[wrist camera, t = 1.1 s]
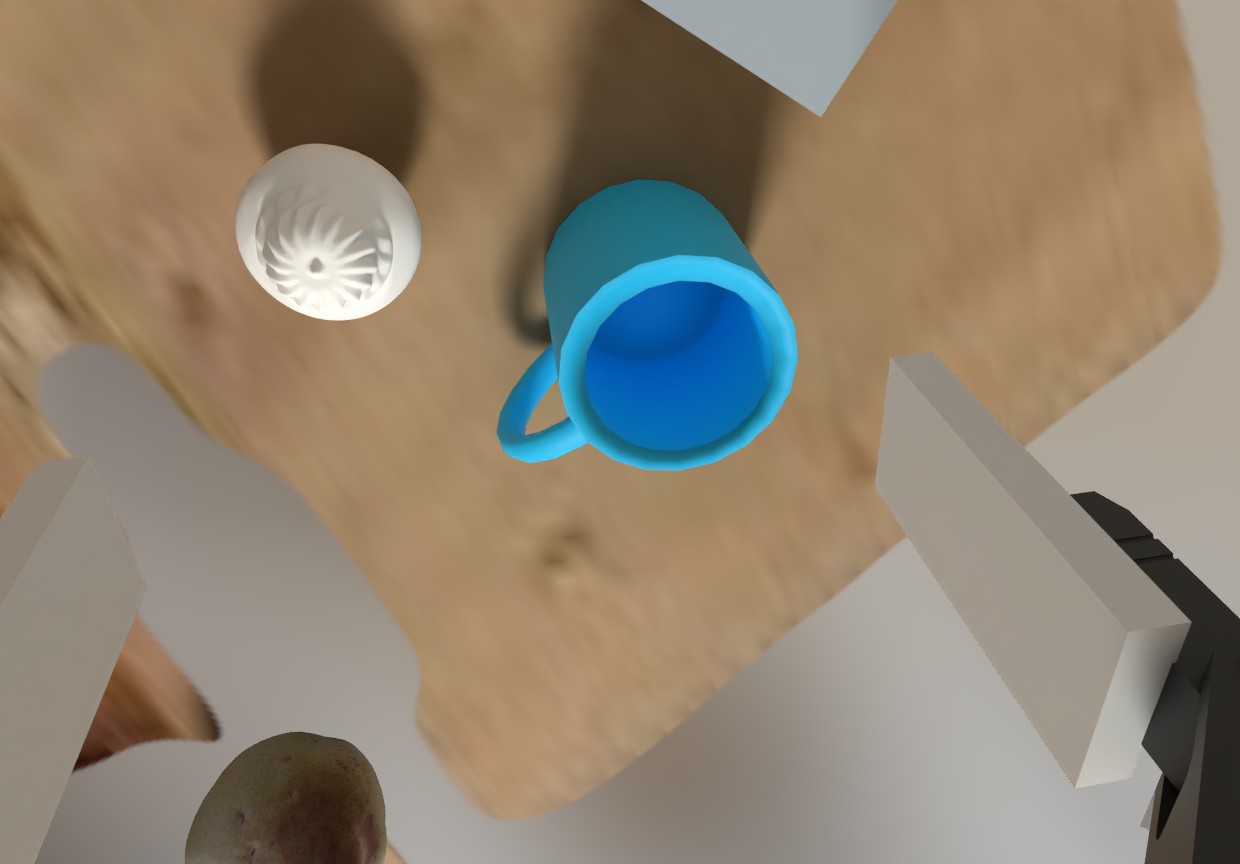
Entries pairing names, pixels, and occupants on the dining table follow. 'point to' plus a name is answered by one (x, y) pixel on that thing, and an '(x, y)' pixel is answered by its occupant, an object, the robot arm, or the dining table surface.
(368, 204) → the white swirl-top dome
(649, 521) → the dining table surface
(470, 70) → the dining table surface
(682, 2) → the grey-topped arch
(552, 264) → the mug
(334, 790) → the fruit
